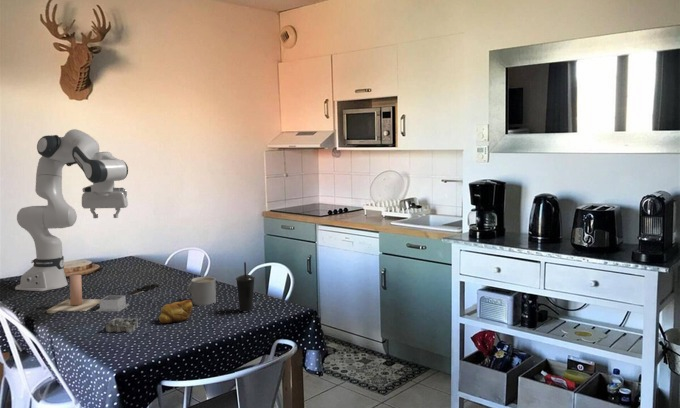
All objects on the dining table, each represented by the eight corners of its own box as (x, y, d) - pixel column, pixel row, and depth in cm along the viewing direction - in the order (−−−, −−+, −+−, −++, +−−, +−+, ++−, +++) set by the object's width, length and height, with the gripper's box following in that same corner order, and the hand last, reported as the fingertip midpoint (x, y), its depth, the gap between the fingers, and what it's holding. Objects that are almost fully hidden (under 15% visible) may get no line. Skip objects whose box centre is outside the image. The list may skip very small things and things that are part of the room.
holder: (95, 313, 223) (94, 301, 222) (106, 306, 232) (106, 294, 232) (119, 313, 222) (119, 301, 222) (130, 306, 232) (129, 294, 232)
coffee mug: (220, 302, 238) (219, 279, 237) (200, 307, 231) (199, 283, 230) (203, 296, 247) (202, 274, 246) (183, 301, 240) (182, 278, 239)
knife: (120, 301, 242) (120, 298, 242) (109, 299, 245) (109, 296, 245) (162, 287, 264) (162, 284, 264) (152, 286, 267) (152, 283, 267)
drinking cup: (259, 308, 227) (257, 261, 225) (250, 314, 220) (248, 264, 218) (242, 307, 230) (241, 259, 228) (233, 312, 223) (231, 263, 221)
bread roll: (163, 327, 206) (162, 306, 205) (153, 320, 213) (152, 300, 212) (195, 319, 214) (194, 299, 213) (184, 314, 222) (183, 294, 221)
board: (46, 313, 223) (46, 310, 223) (67, 301, 239) (67, 299, 239) (85, 313, 223) (85, 310, 223) (104, 302, 239) (103, 299, 238)
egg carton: (103, 333, 200) (102, 322, 200) (112, 326, 208) (112, 315, 207) (132, 333, 200) (131, 322, 199) (140, 326, 207) (140, 315, 207)
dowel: (68, 305, 229) (67, 276, 229) (74, 303, 233) (73, 274, 233) (78, 305, 228) (77, 276, 228) (84, 303, 233) (83, 274, 233)
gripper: (129, 187, 254) (131, 216, 256) (85, 187, 255) (87, 217, 257) (123, 188, 248) (125, 218, 250) (78, 188, 249) (80, 219, 251)
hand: (105, 218), depth 253 cm, fingers open, 8 cm apart
